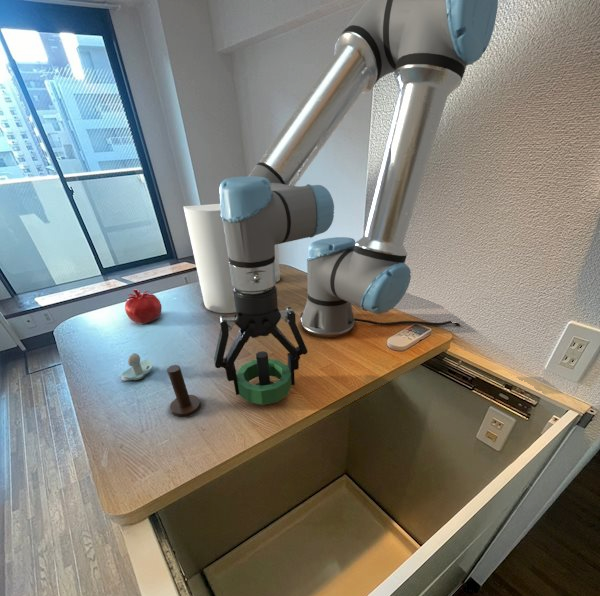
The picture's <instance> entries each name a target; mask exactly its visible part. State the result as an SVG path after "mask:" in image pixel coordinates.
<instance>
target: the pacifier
mask: <svg viewBox="0 0 600 596" xmlns="http://www.w3.org/2000/svg"><path fill="white" fill-rule="evenodd" d="M127 364H128V366H129V367H130V368H128V369H126V370H125V371H124V372H123V373H122V374H121V380H122V381H124V382H128V381H132V380H133V381H139V380H141V379H144V377H146V376H147V374H149V373H150V372H151V371H152V369H153V366H154V365H153V362H152V361H151V360H150V359H144V360H141V357H140V355H139V354H138V353H137V352H136V353H135V352H134V353H131V354H130V355H129V357H128V359H127Z"/></svg>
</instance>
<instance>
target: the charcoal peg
mask: <svg viewBox="0 0 600 596" xmlns="http://www.w3.org/2000/svg"><path fill="white" fill-rule="evenodd" d="M268 359H269V353H268V352H267V351H264V350H263V351H258V352H256V353H255V360H256V361H257V369H258V377H257V378H258V382H256V383H255V384H254V385H259V386H264V385H270V384H273V383H275V382H273V381H271V376H270V373H269V362H268Z"/></svg>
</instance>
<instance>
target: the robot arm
mask: <svg viewBox="0 0 600 596" xmlns="http://www.w3.org/2000/svg"><path fill="white" fill-rule="evenodd" d="M498 6H499V0H366V1H365V3H364V4H363V5H362V6H361V7H360V9H359V10H358V11H357V12H356V13H355V15H354V16H353V18H352V19H351V20H350V21H349V22H348V24H347V25H346V26H345V28H344V30H343V31H342V32H341V34H340V35H339V36H338V38H337V40H336V42H335V45H334V51H333V53H334V55H333V56H332V57H331V58H330V60H329V62H328V63H327V65H326V66H325V67H324V68H323V70H322V72H321V73H320V75H319V76H318V77H317V79H316V80H315V82H314V83H313V84H312V85H311V87H310V88H309V90H308V92H307V93H306V95H305V96H304V97H303V99H302V100H301V101H300V102H299V104H298V105H297V107H296V108H295V110H294V111H293V112H292V114H291V115H290V117H289V118H288V120H287V121H286V122H285V124H284V125H283V127H282V128H281V130H280V131H279V133H278V134H277V135H276V136H275V138H274V139H273V141H272V142H271V144H270V145H269V147H268V148H267V149H266V151H264V153H263V154H262V156H261V158H260V159H259V160H258V161H257V164H256V165H255V166H254V168H253V169H252V170H251V172H250V173H249V174H248V175H244V176H232V177H228V178H225V179H223V180H222V181H221V182H220V184H219V204H220V205H221V218H222V220H223V226H224V232H225V239H226V245H227V251H228V256H229V267H230V274H231V281H232V285H233V287H234V290H233V294H234V301H235V308H236V312H235V315H234V316H231V317H226V316H225V315H221V316H219V324H220V330H219V335H218V340H217V343H216V349H215V353H214V358H213V361H214V367H215V368H216V369H221V368H223V369H224V370H225V374H226V380H227V381H228V382H233V387H234V391H235V396H240V394H239V388H238V381H237V375H236V373H237V370H236V365H235V362H236V360H237V359H238V356H240V353H241V351H243V348H244V346H245V344H247V343H248V341H249V339H250V338H252V339H254V338H258V337H268V336H269V335H270V334H271V335H272V336H273V337H274V338H275V339H276V340H277V341H278V342H279V343H280V345H282V346H283V348H284V349H286V351H287V356H286V357H287V365H288V367H289V370H290V372H291V386H295V384H296V381H295V380H296V379H295V371H298V370H299V368H300V367H299V366H300V364H299V363H300V360H301V356H302V355H307V354H308V352H309V351H308V349H307V346H306V344H305V341H304V338H303V337H302V334H301V332H300V330H299V327H298V326H297V323H296V320H297V319H296V318H297V317H296V312H295V311H294V309H293V308H292V307H291V306H288V307H286V308H285V309H284V310H279V305H278V289H277V286H276V284H277V282H276V271H275V245H276V244H278V245H280V244H281V245H282V244H285V243H290V242H294V241H298V240H303V239H308V238H314V237H315V236H317V235H321V234H325V232H327V231H328V230H329V229H330V228H331V226H332V225H333V221H334V217H335V215H334V214H335V204H334V203H335V202H334V200H333V197H332V195H331V192H330V191H329V190H328V189H327V187H325V186H323V185H321V184H310V183H309V184H306V185H301V186H299V185H298V186H297V183H298V182H299V181H300V180H301V178H302V176H303V175H304V174H305V172H306V171H307V170H308V168H309V167H310V165H311V164H312V162H313V161H314V160H315V158H316V157H317V156H318V154H319V153H320V152H321V150H322V149H323V147H325V145H326V143H327V142H328V140H329V139H330V137H331V136H332V135H333V134H334V132H335V131H336V129H337V128H338V127H339V125H340V124H341V122H342V121H343V120H344V118H345V117H346V116H347V114H348V113H349V112H350V110H351V108H353V106H354V105H355V103H356V102H357V100H358V99H359V98H360V96H361V95H362V94H366V93H368V92H370V91H371V90H372V89H373V88H374V87H375V85H376V84H377V83H378V81H379V80H380V79H382V78H383V77H385V76H386V75H389V74H391V73H393V77H394V80H395V83H396V84H397V88H398V92H397V97H396V102H395V106H394V110H393V114H392V118H391V122H390V127H389V130H388V134H387V138H386V141H385V142H386V143H385V146H384V152H383V155H382V159H381V163H380V168H379V171H378V176H377V180H376V184H375V189H374V193H373V196H372V201H371V205H370V209H369V213H368V217H367V221H366V226H365V230H364V234H363V236H362V237H361V238H360V239H359V240H357V241H356V240H355V238H353V237H346V236H345V237H344V236H337V237H335V236H334V237H327V238H326V237H325V238H320V239H318V240H317V239H316V240H315V241H312V242H311V243H310V245H308V246H309V247H308V248H307V258H306V265H307V266H306V268H307V269H306V271H307V272H306V273H307V275H306V276H307V279H306V281H307V299H306V303H305V306H304V309H303V311H302V312H301V313H300V314H299V315H300V316H299V317H300V326H301V327H300V328H301V329H302V331H303V332H304V333H306V334H307V335H309V336H311V337H315V338H318V339H319V338H320V339H325V340H329V339H331V340H332V339H339V338H342V337H345V336H348V335H349V334H351V333H352V332H353V331H354V329H355V322H360V323H367V324H372V325H377V326H394V325H403V324H404V325H406V324H408V325H409V324H412V325H413V324H414V325H426V326H427V325H428V326H446V325H450V324H452V325H453V324H454V325H455V326H457V327H460V326H461V324H460V323H459V322H458V323H452V322H451V321H452V320H448V321H443V322H431V321H419V320H401V321H391V322H380V321H379V322H378V321H373V320H369V319H362V318H356V317H355V316H354V312H353V307H352V305H354V306H355V307H358V308H361V310H363V311H366V312H370V313H373V314H376V315H381V314H385V313H388V312H390V311H391V310H392V309H394V308H395V307H396V306H397V305H398V304H399V303H400V301H401V300H402V299H403V297H404V296H405V295H406V293H407V290H408V288H409V285H410V282H411V278H412V275H411V273H412V272H411V271H412V270H411V268H410V266H409V265H407V264H406V260H407V256H408V252H407V249H406V247H405V246H404V242H405V239H406V235H407V232H408V229H409V225H410V223H411V218H412V215H413V212H414V209H415V206H416V202H417V199H418V195H419V192H420V189H421V187H422V183H423V180H424V176H425V173H426V169H427V166H428V162H429V159H430V156H431V152H432V149H433V146H434V143H435V140H436V136H437V132H438V130H439V126H440V123H441V121H442V120H441V119H442V116H443V114H444V111H445V106H446V103H447V100H448V97H449V96H450V95H451V94H452V93H454V91H456V90H457V89H458V88H460V87H461V84H462V81H463V78H464V75H465V72H466V69H467V66H470V65H473V64H474V63H476V62H477V61H479V60H480V59H481V58H482V57H483V54H484V53H485V52H486V51H487V48H488V46H489V44H490V41H491V39H492V36H493V33H494V29H495V24H496V20H497V14H498ZM281 319H283V321H284V322H285V323H287V324H288V326H289V328H290V330H291V333H292V335H293V337H294V340H295V342H296V344H297V346H296V347H295V345H294V344H292V342H291V341H290V340H289V339H288V337H286V335H285V334H284V333H283V332H282V331H281V329H279V327H278V323H279V322H280V320H281ZM234 325H235V326H237V327H238V328H239V330H238V332H237V334H236V337H235V338H234V340H233V342H232V343H231V346H230V348H229V349H228V352H227V353H226V355H225V352H226V349H227V344H228V340H229V334H230V333H229V332H230V331H232V329H233V327H234Z"/></svg>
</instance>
